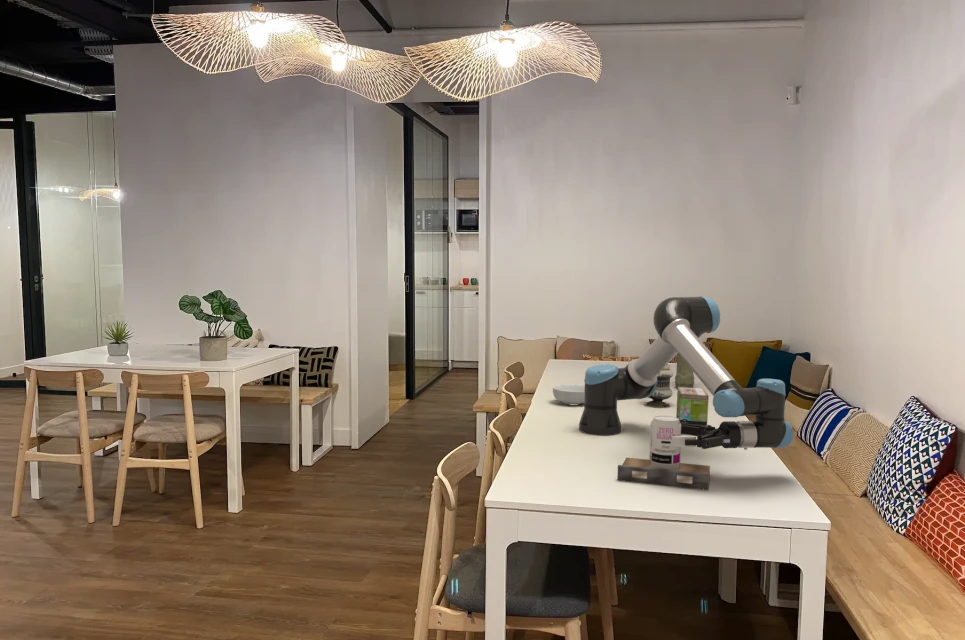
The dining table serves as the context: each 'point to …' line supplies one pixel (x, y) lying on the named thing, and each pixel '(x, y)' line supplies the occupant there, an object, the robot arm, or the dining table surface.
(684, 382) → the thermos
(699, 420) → the tea box
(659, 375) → the apothecary jar
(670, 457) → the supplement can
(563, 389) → the cereal bowl
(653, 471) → the shelf
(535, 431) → the dining table surface
